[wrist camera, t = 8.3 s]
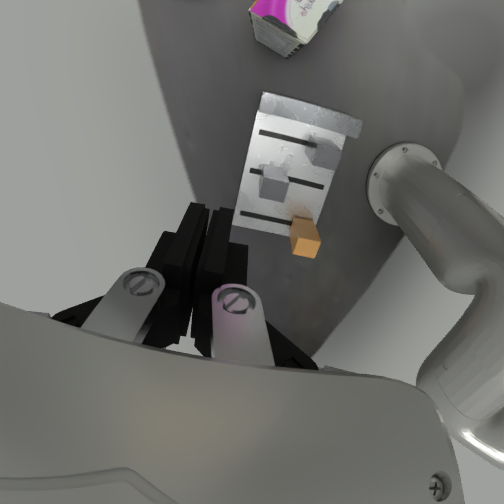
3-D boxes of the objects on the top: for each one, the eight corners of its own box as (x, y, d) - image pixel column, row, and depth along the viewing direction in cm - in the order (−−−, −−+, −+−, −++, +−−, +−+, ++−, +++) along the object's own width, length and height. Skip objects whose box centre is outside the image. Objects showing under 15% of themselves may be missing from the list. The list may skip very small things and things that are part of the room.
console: (348, 114, 32) (367, 122, 27) (308, 234, 42) (316, 262, 36) (262, 90, 31) (263, 92, 25) (233, 218, 41) (228, 245, 35)
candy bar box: (301, -23, 22) (330, -81, 9) (336, -2, 24) (388, -45, 10) (250, 40, 28) (245, 9, 14) (286, 61, 29) (309, 47, 15)
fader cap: (314, 221, 39) (321, 242, 34) (308, 236, 40) (314, 258, 36) (294, 216, 38) (298, 237, 34) (289, 232, 40) (292, 254, 35)
